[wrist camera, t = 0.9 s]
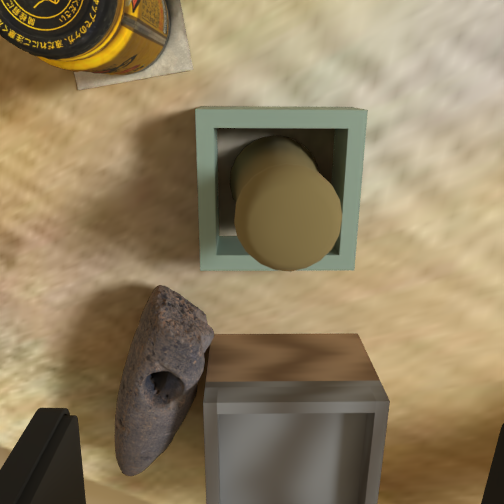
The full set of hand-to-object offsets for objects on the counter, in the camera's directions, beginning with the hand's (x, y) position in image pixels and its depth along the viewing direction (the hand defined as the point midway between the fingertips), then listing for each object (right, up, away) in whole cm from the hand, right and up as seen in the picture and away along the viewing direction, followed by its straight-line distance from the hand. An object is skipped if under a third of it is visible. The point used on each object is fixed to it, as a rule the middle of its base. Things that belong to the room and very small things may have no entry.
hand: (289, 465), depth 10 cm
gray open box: (+2, -7, +27) cm, 28 cm away
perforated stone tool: (-8, -4, +26) cm, 27 cm away
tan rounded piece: (+1, +9, +21) cm, 24 cm away
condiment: (-9, +19, +18) cm, 28 cm away
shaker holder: (+1, +9, +21) cm, 23 cm away
